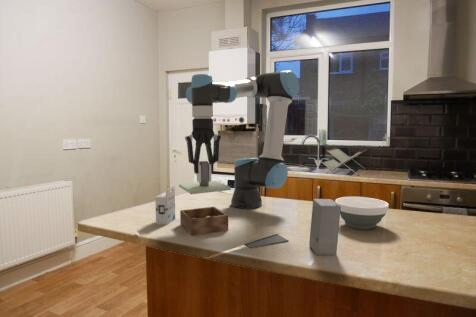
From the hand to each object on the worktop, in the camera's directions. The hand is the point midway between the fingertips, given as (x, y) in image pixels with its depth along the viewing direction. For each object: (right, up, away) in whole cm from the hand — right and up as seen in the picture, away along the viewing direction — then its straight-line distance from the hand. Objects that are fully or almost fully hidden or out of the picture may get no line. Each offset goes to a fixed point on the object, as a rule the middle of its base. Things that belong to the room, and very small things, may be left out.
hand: (204, 181), depth 124 cm
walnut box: (0, -18, +2) cm, 18 cm away
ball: (+1, -17, +6) cm, 18 cm away
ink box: (-16, -18, +9) cm, 26 cm away
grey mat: (+20, -19, -8) cm, 29 cm away
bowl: (+61, -18, +7) cm, 64 cm away
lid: (0, -3, 0) cm, 3 cm away
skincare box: (+40, -21, -19) cm, 49 cm away
